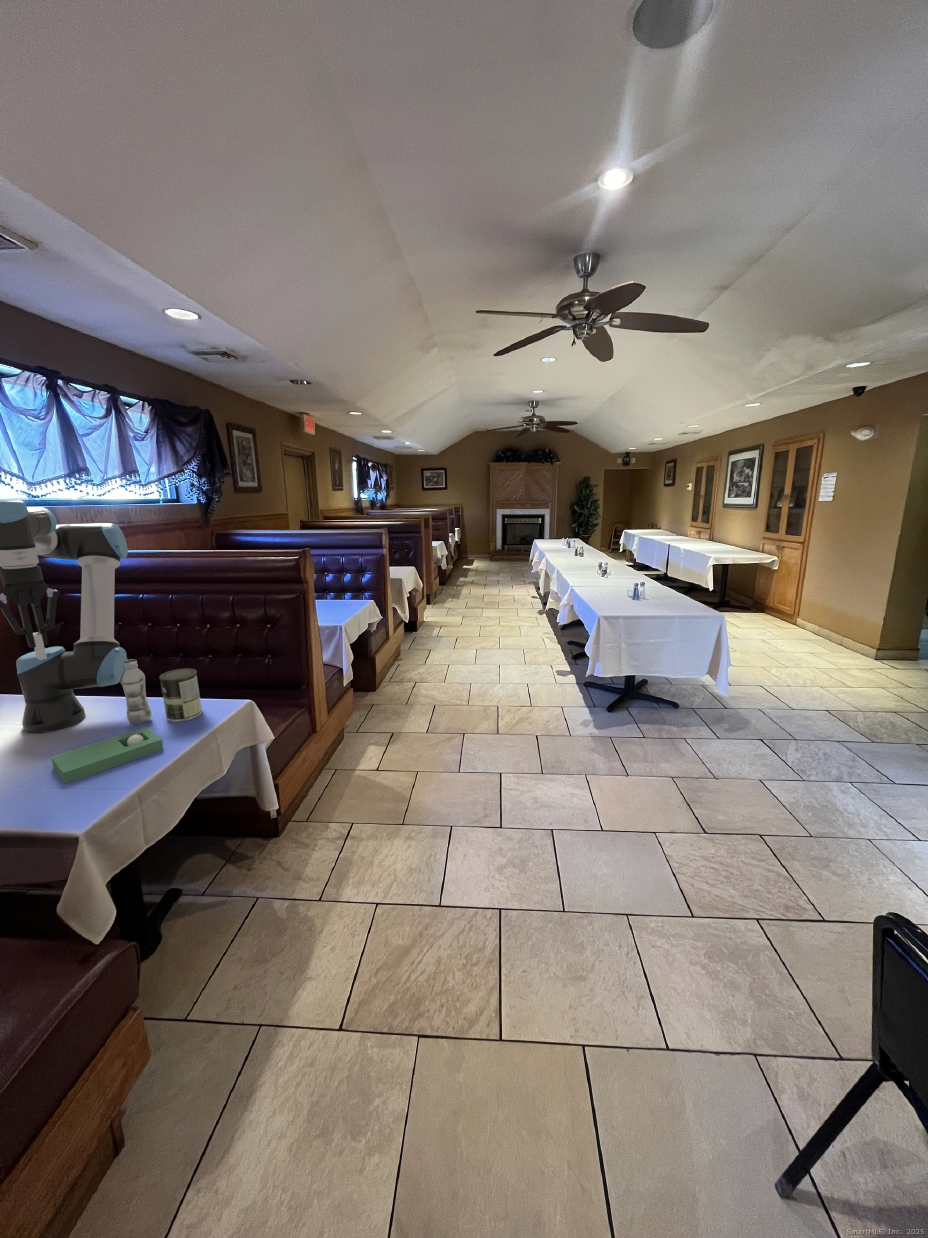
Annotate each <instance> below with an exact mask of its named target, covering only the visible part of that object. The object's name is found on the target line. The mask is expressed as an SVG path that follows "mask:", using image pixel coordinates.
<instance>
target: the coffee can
mask: <svg viewBox="0 0 928 1238" xmlns="http://www.w3.org/2000/svg"><path fill="white" fill-rule="evenodd" d="M197 673H198V671H197V670H196V669H195V668H188V667H187V668H177V669H173V670H168V671H165V672H164V673H162V674H160V675H159V676H158V677H159V680H160V687H161V694H162V699H163V704H164V711H165V719H166V721H168V722H172V723H174V722H175V723H177V722H178V723H179V722H185V721H190V720H193V719H195V718H197V717H199V716H200V715H202V714H203V710H202V709H203V708H202V703H201V695H200V688H199V681H198V676H197Z"/></svg>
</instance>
